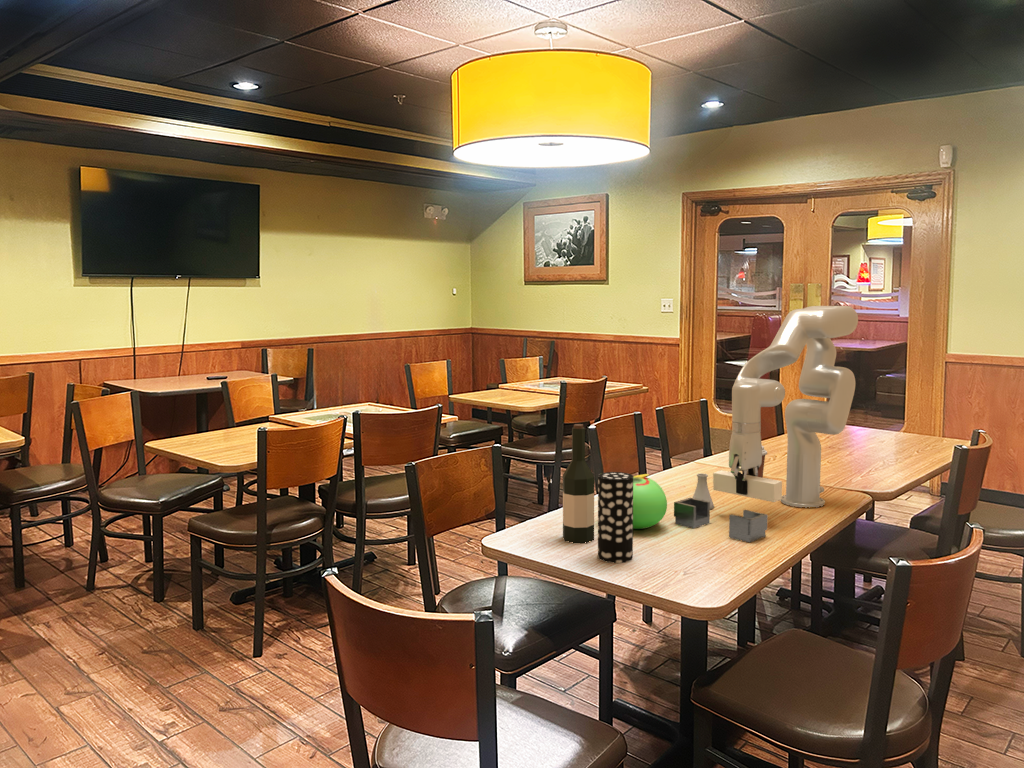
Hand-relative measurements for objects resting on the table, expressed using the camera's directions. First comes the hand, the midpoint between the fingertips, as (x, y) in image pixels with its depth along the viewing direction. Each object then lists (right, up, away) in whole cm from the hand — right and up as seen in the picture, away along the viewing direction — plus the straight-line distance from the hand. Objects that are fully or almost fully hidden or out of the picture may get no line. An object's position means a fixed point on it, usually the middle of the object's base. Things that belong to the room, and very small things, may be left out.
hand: (746, 491), depth 215 cm
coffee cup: (+17, -3, +48) cm, 51 cm away
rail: (0, -1, 0) cm, 1 cm away
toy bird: (-32, -9, -4) cm, 33 cm away
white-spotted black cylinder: (-40, -12, -29) cm, 51 cm away
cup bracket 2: (-4, -10, -14) cm, 18 cm away
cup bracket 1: (-15, -9, -1) cm, 18 cm away
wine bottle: (-48, -11, -14) cm, 51 cm away
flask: (-9, -7, +15) cm, 19 cm away
